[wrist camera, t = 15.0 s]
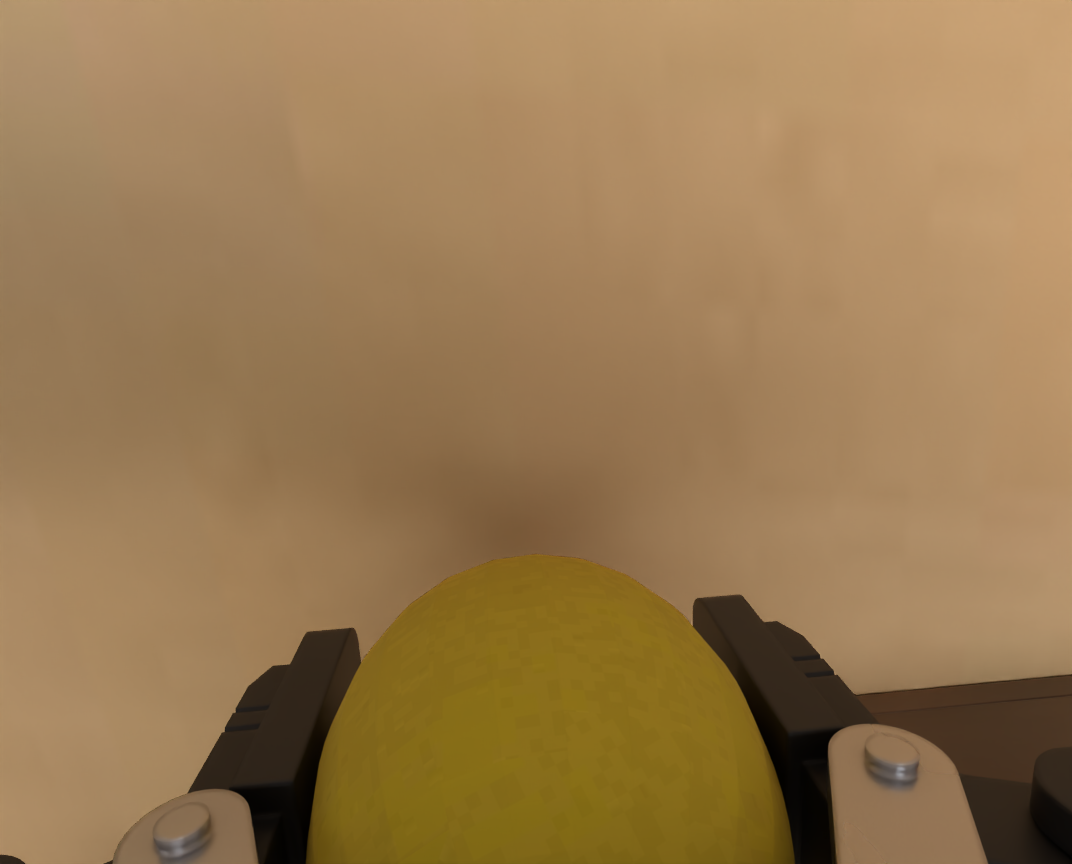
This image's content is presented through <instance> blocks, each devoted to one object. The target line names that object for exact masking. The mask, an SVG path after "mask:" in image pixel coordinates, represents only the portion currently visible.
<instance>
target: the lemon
mask: <svg viewBox="0 0 1072 864" xmlns="http://www.w3.org/2000/svg"><path fill="white" fill-rule="evenodd" d="M306 864H795V859H794V851H793V844H792V838H791V831H790V824H789V819H788V815H787V811H786V806H785V802H784V798H783V793H782V790H781V787H780V784H779V780H778V777H777V774H776V771H775V767H774V765H773V762H772V760H771V757H770V755H769V752H768V750H767V747H766V745H765V743H764V740H763V738H762V736H761V733H760V731H759V729H758V726H757V724H756V722H755V720H754V717H753V715H752V713H751V710H750V708H749V706H748V704H747V701H746V699H745V697H744V695H743V693H742V691H741V689H740V687H739V685H738V684H737V682H736V680H735V678H734V677H733V675H732V674H731V672H730V671H729V669H728V668H727V666H726V665H725V663H724V662H723V661H722V660H721V659H720V658H719V656H718V655H717V654H716V653H715V652H714V651H713V649H712V648H711V647H710V646H709V645H708V644H707V642H706V641H705V640H704V639H703V638H702V637H701V635H700V634H699V633H698V632H697V631H696V630H695V628H694V627H693V626H692V625H691V624H690V623H689V621H688V620H687V619H686V618H685V617H684V616H683V614H681V613H680V612H679V611H678V610H677V609H676V608H675V607H673V606H672V605H671V604H669V603H668V602H667V601H665V600H664V599H662V598H661V597H659V596H658V595H656V594H655V593H653V592H652V591H650V590H649V589H647V588H646V587H644V586H643V585H642V584H640V583H639V582H637V581H636V580H634V579H632V578H631V577H629V576H627V575H626V574H624V573H621V572H618V571H615V570H612V569H610V568H607V567H604V566H601V565H598V564H596V563H593V562H590V561H587V560H584V559H580V558H573V557H562V556H551V555H541V554H532V555H525V556H517V557H510V558H503V559H496V560H492V561H489V562H486V563H484V564H481V565H479V566H476V567H473V568H471V569H468V570H466V571H463V572H461V573H458V574H455V575H453V576H451V577H448V578H447V579H445V580H444V581H442V582H441V583H440V584H438V585H437V586H435V587H434V588H433V589H431V590H430V591H428V592H427V593H425V594H424V595H423V596H421V597H420V598H418V599H417V600H416V601H414V602H413V603H411V604H410V605H409V606H408V607H407V608H406V609H405V610H404V611H403V612H402V613H401V614H400V615H399V616H398V617H397V619H396V620H395V621H394V622H393V623H392V625H391V626H390V627H389V628H388V629H387V630H386V632H385V633H384V634H383V635H382V636H381V637H380V639H379V640H378V641H377V642H376V643H375V644H374V646H373V647H372V648H371V649H370V651H369V652H368V654H367V655H366V656H365V658H364V659H363V661H362V662H361V664H360V666H359V668H358V670H357V672H356V674H355V675H354V677H353V680H352V682H351V684H350V686H349V688H348V690H347V692H346V694H345V696H344V699H343V701H342V703H341V705H340V707H339V709H338V711H337V713H336V715H335V718H334V720H333V722H332V724H331V727H330V730H329V732H328V735H327V737H326V740H325V743H324V747H323V751H322V754H321V758H320V762H319V767H318V774H317V780H316V786H315V793H314V799H313V806H312V813H311V819H310V826H309V833H308V840H307V852H306Z"/></svg>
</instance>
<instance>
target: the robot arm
mask: <svg viewBox="0 0 1072 864" xmlns="http://www.w3.org/2000/svg"><path fill="white" fill-rule="evenodd" d="M693 627H694V628H695V630H696V631H697V632H698V633H699V634H700V635H701V637H702V638H703V639H704V640H705V641H706V642H707V644H708V645H709V646H710V647H711V648H712V649H713V651H714V652H715V653H716V654H717V655H718V656H719V658H720V659H721V660H722V661H723V662H724V663H725V665H726V666H727V668H728V669H729V671H730V672H731V674H732V675H733V677H734V678H735V680H736V682H737V684H738V685H739V687H740V689H741V691H742V693H743V695H744V697H745V699H746V701H747V704H748V706H749V708H750V710H751V713H752V715H753V717H754V720H755V722H756V724H757V726H758V729H759V731H760V733H761V736H762V738H763V740H764V743H765V745H766V747H767V750H768V752H769V755H770V757H771V760H772V762H773V765H774V767H775V771H776V774H777V777H778V780H779V784H780V787H781V790H782V793H783V798H784V802H785V806H786V811H787V815H788V819H789V824H790V831H791V838H792V844H793V851H794V859H795V864H1072V747H1059V748H1054V749H1050V750H1047V751H1045V752H1043V753H1042V754H1040V755H1039V756H1038V757H1037V759H1036V760H1035V765H1034V772H1033V780H1032V783H1026V782H1018V781H1010V780H1003V779H995V778H987V777H979V776H973V775H967V774H962V773H958V771H957V769H956V767H955V765H954V763H953V762H952V761H951V759H950V758H949V757H948V756H947V755H946V754H945V753H944V752H943V751H942V750H941V749H939V748H938V747H937V746H936V745H934V744H933V743H931V742H929V741H928V740H926V739H924V738H922V737H920V736H918V735H916V734H914V733H911V732H909V731H906V730H903V729H899V728H896V727H892V726H887V725H881V724H880V723H879V722H878V721H877V720H876V719H875V718H874V716H873V715H872V714H871V713H870V712H869V711H868V710H867V708H866V707H865V706H864V705H863V704H862V703H861V702H860V700H859V699H858V698H857V697H856V696H855V695H854V694H853V692H852V691H851V690H850V689H849V688H848V687H847V686H846V684H845V683H844V682H843V681H842V680H841V679H840V678H839V676H838V675H834V671H833V669H832V668H831V667H830V666H829V665H828V664H827V663H826V661H825V660H824V659H821V658H820V655H819V653H818V652H817V651H816V650H815V649H814V648H813V647H812V645H811V644H810V643H809V642H808V641H807V640H806V639H805V637H804V636H802V635H800V634H799V633H797V632H795V631H793V630H792V629H790V628H788V627H786V626H785V625H783V624H781V623H779V622H778V621H773V622H763V621H762V620H761V619H760V617H759V616H758V615H757V614H756V612H755V611H754V610H753V609H752V607H751V606H750V605H749V603H748V602H747V601H746V600H745V598H744V597H743V596H742V595H728V596H716V597H705V598H697V599H695V601H694V605H693ZM360 664H361V657H360V650H359V642H358V637H357V633H356V631H355V629H354V628H345V629H333V630H322V631H311V632H307V633H306V634H305V636H304V637H303V639H302V641H301V643H300V645H299V647H298V649H297V652H296V654H295V656H294V658H293V660H292V662H291V664H289V665H278V666H272V667H271V668H270V669H269V670H267V671H266V672H265V673H264V674H263V675H261V676H260V677H259V678H258V679H257V680H255V681H254V682H253V683H252V684H251V685H249V686H248V688H247V690H246V692H245V693H244V695H243V697H242V699H241V700H240V702H239V704H238V706H237V707H236V713H233V714H232V716H231V718H230V720H229V721H228V723H227V725H226V727H225V732H223V733H222V734H221V735H220V737H219V739H218V741H217V742H216V744H215V746H214V748H213V749H212V751H211V753H210V755H209V756H208V758H207V760H206V762H205V763H204V765H203V767H202V769H201V770H200V772H199V774H198V776H197V777H196V779H195V781H194V783H193V784H192V786H191V788H190V790H189V791H188V793H187V794H185V795H182V796H179V797H177V798H174V799H172V800H170V801H168V802H166V803H164V804H162V805H160V806H159V807H157V808H155V809H154V810H152V811H150V812H149V813H148V814H146V815H145V816H144V817H142V818H141V819H140V820H139V821H138V822H137V823H135V824H134V825H133V826H132V827H131V828H130V829H129V831H128V832H127V833H126V834H125V835H124V837H123V838H122V840H121V841H120V843H119V844H118V846H117V849H116V851H115V853H114V858H113V860H112V861H110V862H107V863H104V864H306V852H307V840H308V833H309V826H310V819H311V813H312V806H313V799H314V793H315V786H316V780H317V774H318V767H319V762H320V758H321V754H322V751H323V747H324V743H325V740H326V737H327V735H328V732H329V730H330V727H331V724H332V722H333V720H334V718H335V715H336V713H337V711H338V709H339V707H340V705H341V703H342V701H343V699H344V696H345V694H346V692H347V690H348V688H349V686H350V684H351V682H352V680H353V677H354V675H355V674H356V672H357V670H358V668H359V666H360ZM0 864H25V863H24V862H23V861H21V860H20V859H18V858H16V857H13V856H8V855H0Z"/></svg>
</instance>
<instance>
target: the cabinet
mask: <svg viewBox="0 0 1072 864" xmlns="http://www.w3.org/2000/svg"><path fill="white" fill-rule="evenodd" d="M856 697H857V698H858V699H859V700H860V702H861V703H862V704H863V705H864V706H865V707H866V708H867V710H868V711H869V712H870V713H871V714H872V715H873V716H874V718H875V719H876V720H877V721H878V722H879V723H880V724H881V725H887V726H892V727H896V728H899V729H903V730H906V731H909V732H911V733H914V734H916V735H918V736H920V737H922V738H924V739H926V740H928V741H929V742H931V743H933V744H934V745H936V746H937V747H938V748H939V749H941V750H942V751H943V752H944V753H945V754H946V755H947V756H948V757H949V758H950V759H951V761H952V762H953V763H954V765H955V767H956V769H957V771H958V773H962V774H967V775H973V776H979V777H987V778H995V779H1003V780H1010V781H1018V782H1026V783H1032V780H1033V772H1034V765H1035V760H1036V759H1037V757H1038V756H1039V755H1040V754H1042V753H1043V752H1045V751H1047V750H1050V749H1054V748H1059V747H1072V675H1071V676H1060V677H1050V678H1039V679H1029V680H1018V681H1008V682H997V683H986V684H976V685H965V686H955V687H944V688H933V689H923V690H912V691H902V692H891V693H880V694H870V695H859V696H856Z"/></svg>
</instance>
